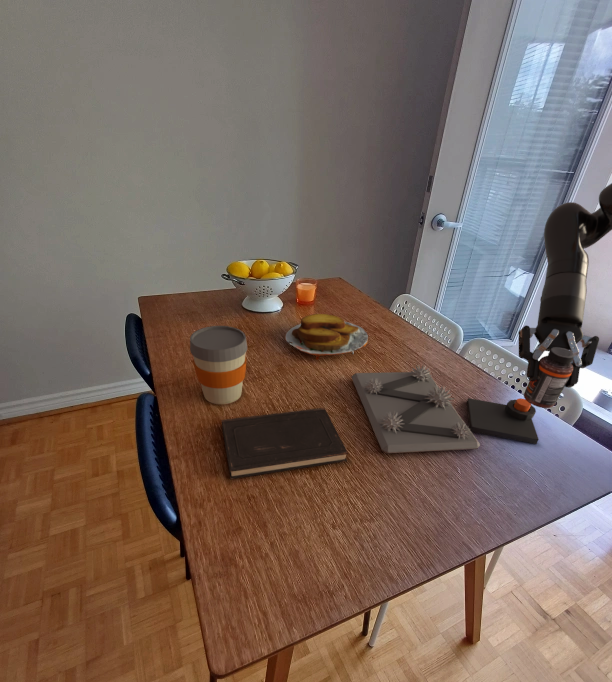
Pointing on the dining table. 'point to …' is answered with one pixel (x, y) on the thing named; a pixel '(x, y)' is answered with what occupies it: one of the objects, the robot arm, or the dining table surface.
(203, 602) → the dining table surface
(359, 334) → the food on plate
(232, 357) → the reusable coffee cup
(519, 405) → the button
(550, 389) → the supplement bottle
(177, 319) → the dining table surface
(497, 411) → the kitchen scale
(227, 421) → the hardcover book
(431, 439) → the grey spiked board
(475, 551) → the dining table surface
